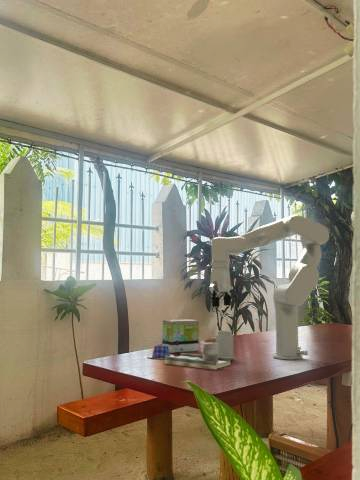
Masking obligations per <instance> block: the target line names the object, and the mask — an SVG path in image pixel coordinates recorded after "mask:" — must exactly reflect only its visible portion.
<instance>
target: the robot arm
mask: <svg viewBox="0 0 360 480" xmlns="http://www.w3.org/2000/svg"><path fill="white" fill-rule="evenodd" d="M295 235H297V236H299V239H300V243H301V245H302V252H301V254H300V256H299V258H298V259H297V261H296V262H295V263H294V265H293V267H292V268H291V269H290V271H289V273H288V281H289V282H290V283H286V284H285V283H284V284H280V285H278V286H277V287H276V288H275V289H274V291H273V295H272V297H273V298H272V299H273V304H274V312H275V314H274V315H275V353H273V354H272V358H273V359H277V360H302V359H303V356H309V351H308V350H306V349H303V350H302V349H301V348H302V347H301V346H299V316H298V310H297V307H301V306H302V305H303V304H304V303H305V302H306V301H307V299H308V298H309V296H310V294H311V293H312V292H313V290H314V289H315V288H316V286H317V284H318V282H319V279H320V272H319V270H318V268H317V267H318V265H319V264H320V262H321V259H322V248H321V245H324V244H326V243H327V242H328V241H329V239H330V232H329V229H328V228H327V227H326V226H324V225H323V224H321V223H318V222H316V221H314V220H312V219H309V218H307V217H305V216H302V215H300V214H292V215H289V216H287V217H284V218H282V219H279V220H275V221H274V222H270V223H268V224H265V225H262V226H260V227H257V228H255V229H253V230H251V231H249V232H247V233H243V234H241V235H238V236H231V237H224V236H218V237H214V238H212V239H211V243H210V244H211V247H210V248H211V271H210V283H209V284H210V286H209V287H208V288H209V293H210V297H211V306H212V307H213V308H215V307H216V308H218V307H220V297H219V295H220V293H223V306H230V307H231V306H232V303H231V302H232V299H231V297H232V293H233V292H232V290H233V285H231V274H230V273H231V272H230V256H236V255H242V254H243V253H245V252H246V251H250V250H252V249H255V248H260V247H264V246H268V245H270V244H274V243H276V242H279V241H283V240H284V239H287V238H289V237H290V238H291V237H292V236H295Z"/></svg>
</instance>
